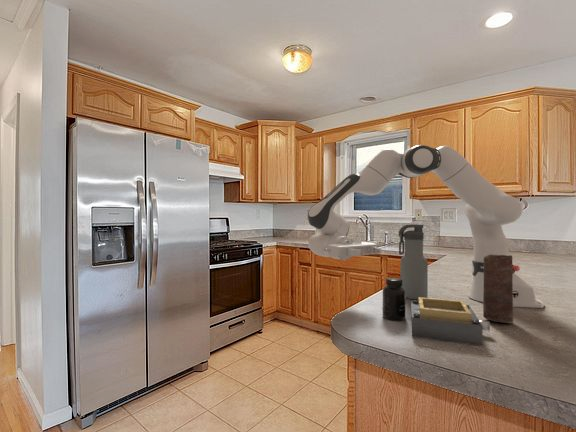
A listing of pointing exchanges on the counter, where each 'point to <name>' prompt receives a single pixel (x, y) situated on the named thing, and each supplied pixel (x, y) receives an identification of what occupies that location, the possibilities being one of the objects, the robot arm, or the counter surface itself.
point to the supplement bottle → (394, 300)
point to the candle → (498, 288)
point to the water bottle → (413, 262)
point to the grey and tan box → (446, 321)
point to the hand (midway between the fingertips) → (370, 252)
